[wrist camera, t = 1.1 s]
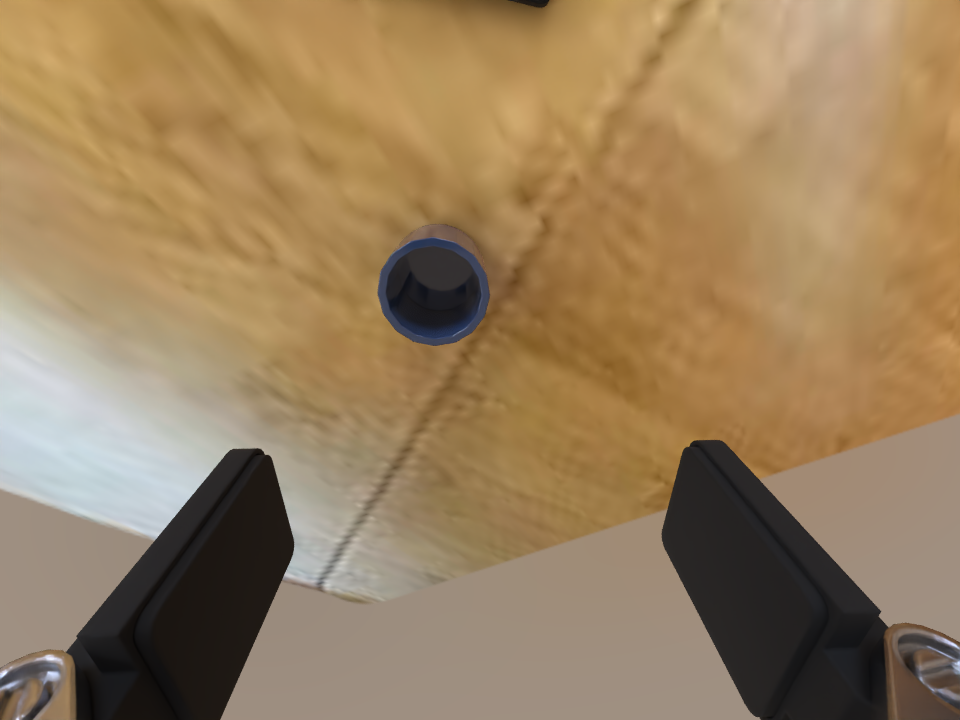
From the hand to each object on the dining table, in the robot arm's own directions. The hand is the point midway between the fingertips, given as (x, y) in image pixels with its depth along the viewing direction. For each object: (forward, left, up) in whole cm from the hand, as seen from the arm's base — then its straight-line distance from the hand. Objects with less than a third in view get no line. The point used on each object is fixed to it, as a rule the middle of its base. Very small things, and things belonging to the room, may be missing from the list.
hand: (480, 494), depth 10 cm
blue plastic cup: (-2, -1, -23) cm, 23 cm away
